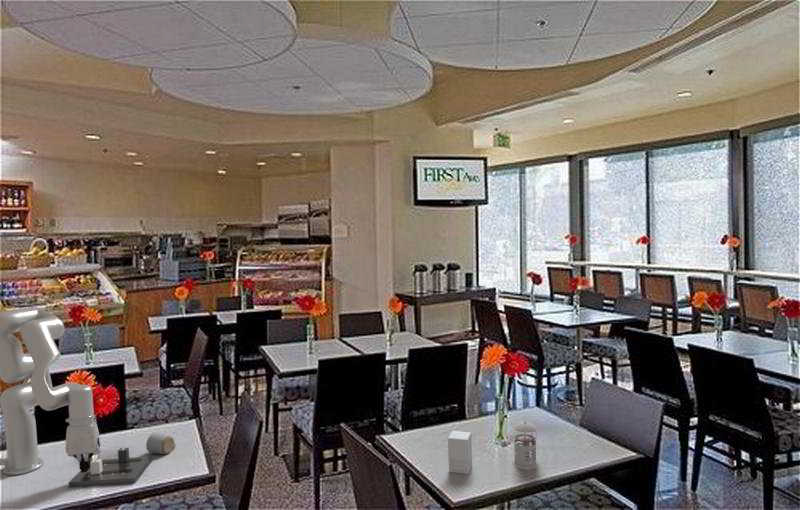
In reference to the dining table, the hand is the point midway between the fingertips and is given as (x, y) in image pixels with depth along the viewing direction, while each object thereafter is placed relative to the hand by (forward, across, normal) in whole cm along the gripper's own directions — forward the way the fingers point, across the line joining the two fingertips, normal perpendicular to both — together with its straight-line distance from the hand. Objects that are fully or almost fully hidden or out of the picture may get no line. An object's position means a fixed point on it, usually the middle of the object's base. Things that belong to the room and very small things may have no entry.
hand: (85, 470), depth 201 cm
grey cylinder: (+4, +20, +21) cm, 30 cm away
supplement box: (+4, +134, -13) cm, 135 cm away
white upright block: (+1, +4, 0) cm, 4 cm away
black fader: (+1, +10, +9) cm, 13 cm away
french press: (+4, +159, -12) cm, 160 cm away
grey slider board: (+3, +8, +3) cm, 9 cm away
